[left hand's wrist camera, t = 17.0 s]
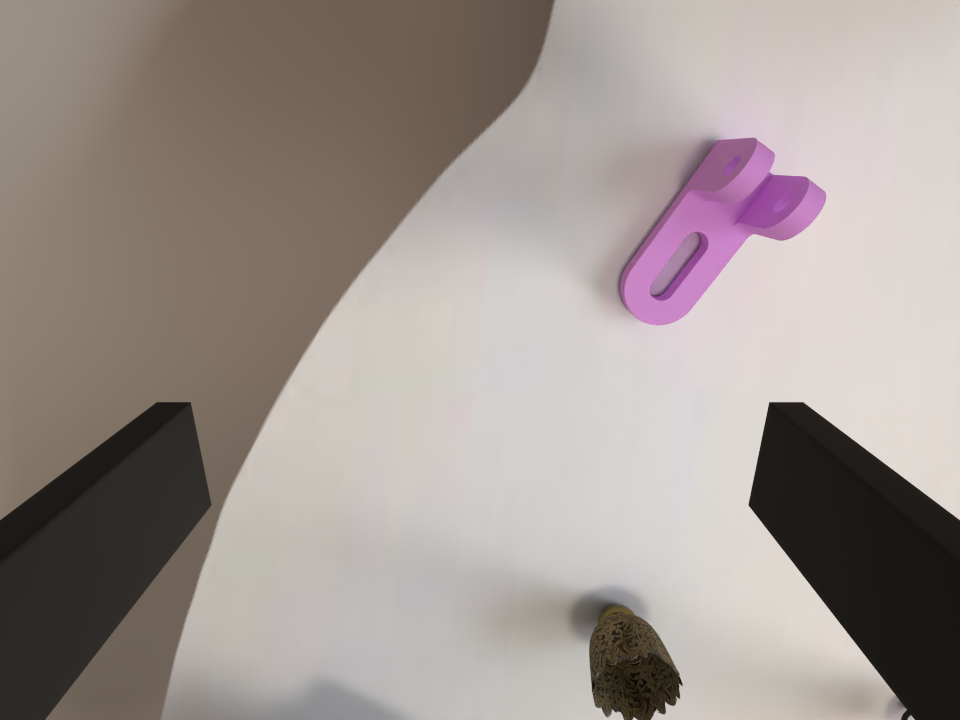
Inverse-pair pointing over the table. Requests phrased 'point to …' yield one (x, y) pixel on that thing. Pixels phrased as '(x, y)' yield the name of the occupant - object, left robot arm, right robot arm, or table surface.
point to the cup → (630, 666)
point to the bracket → (717, 225)
